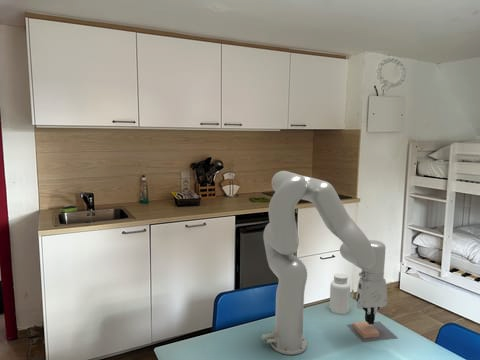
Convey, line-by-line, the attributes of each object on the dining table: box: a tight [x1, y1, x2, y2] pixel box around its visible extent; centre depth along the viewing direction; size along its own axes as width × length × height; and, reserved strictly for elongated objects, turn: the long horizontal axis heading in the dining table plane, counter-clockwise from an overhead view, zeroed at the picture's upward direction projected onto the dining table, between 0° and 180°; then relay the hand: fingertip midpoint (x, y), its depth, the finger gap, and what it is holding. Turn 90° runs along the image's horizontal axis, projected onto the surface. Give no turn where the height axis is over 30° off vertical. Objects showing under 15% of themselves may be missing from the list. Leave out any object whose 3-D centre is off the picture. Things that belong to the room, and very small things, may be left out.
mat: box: [346, 320, 399, 343], centre depth 137 cm, size 14×12×1 cm
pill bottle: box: [329, 273, 351, 315], centre depth 153 cm, size 8×8×15 cm
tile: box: [352, 320, 379, 338], centre depth 136 cm, size 2×8×6 cm
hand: (369, 322), depth 136 cm, fingers closed
